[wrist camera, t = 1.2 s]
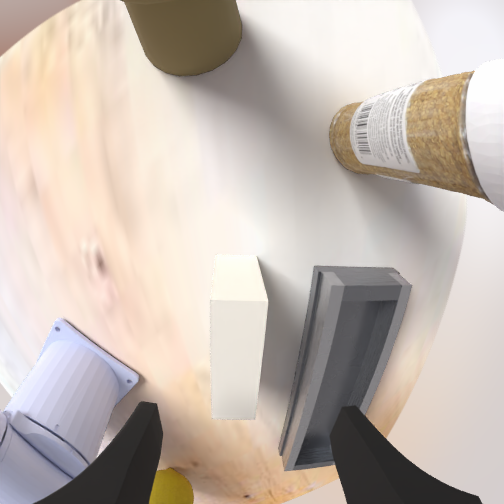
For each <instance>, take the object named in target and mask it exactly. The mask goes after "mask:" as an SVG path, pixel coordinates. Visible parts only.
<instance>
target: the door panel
mask: <svg viewBox="0 0 504 504" xmlns="http://www.w3.org/2000/svg"><path fill="white" fill-rule="evenodd" d="M267 311H268V298H267V294H266V290H265V286H264V283H263V279H262V275H261V271H260V267H259V264H258V260H257V256H244V255H219V254H216V255H215V263H214V272H213V280H212V288H211V297H210V366H211V407H212V419H227V420H255V417H256V409H257V400H258V392H259V384H260V375H261V366H262V357H263V348H264V339H265V330H266V320H267Z"/></svg>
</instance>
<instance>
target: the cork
mask: <svg viewBox="0 0 504 504" xmlns="http://www.w3.org/2000/svg"><path fill="white" fill-rule="evenodd" d="M121 1H123V2H125V5H126V7H127V10H128V13H129V15H130V18H131V20H132V23H133V25H134V28H135V30H136V33H137V35H138V38H139V40H140V43H141V45H142V47H143V50H144V52H145V55H146V56H147V58H148V59H149V60H150V62H151V63H152V64H153V65H154V66H155V67H157V68H158V69H160V70H162V71H163V72H165V73H169V74H173V75H178V76H192V75H199V74H202V73H205V72H209V71H212V70H214V69H215V68H217V67H218V66H220V65H222V64H223V63H225V62H226V61H227V60H228V59H229V58H230V57H231V56H232V55H233V54H234V52H235V51H236V50H237V47H238V45H239V43H240V41H241V38H242V24H241V19H240V15H239V11H238V7H237V3H236V0H121Z"/></svg>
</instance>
